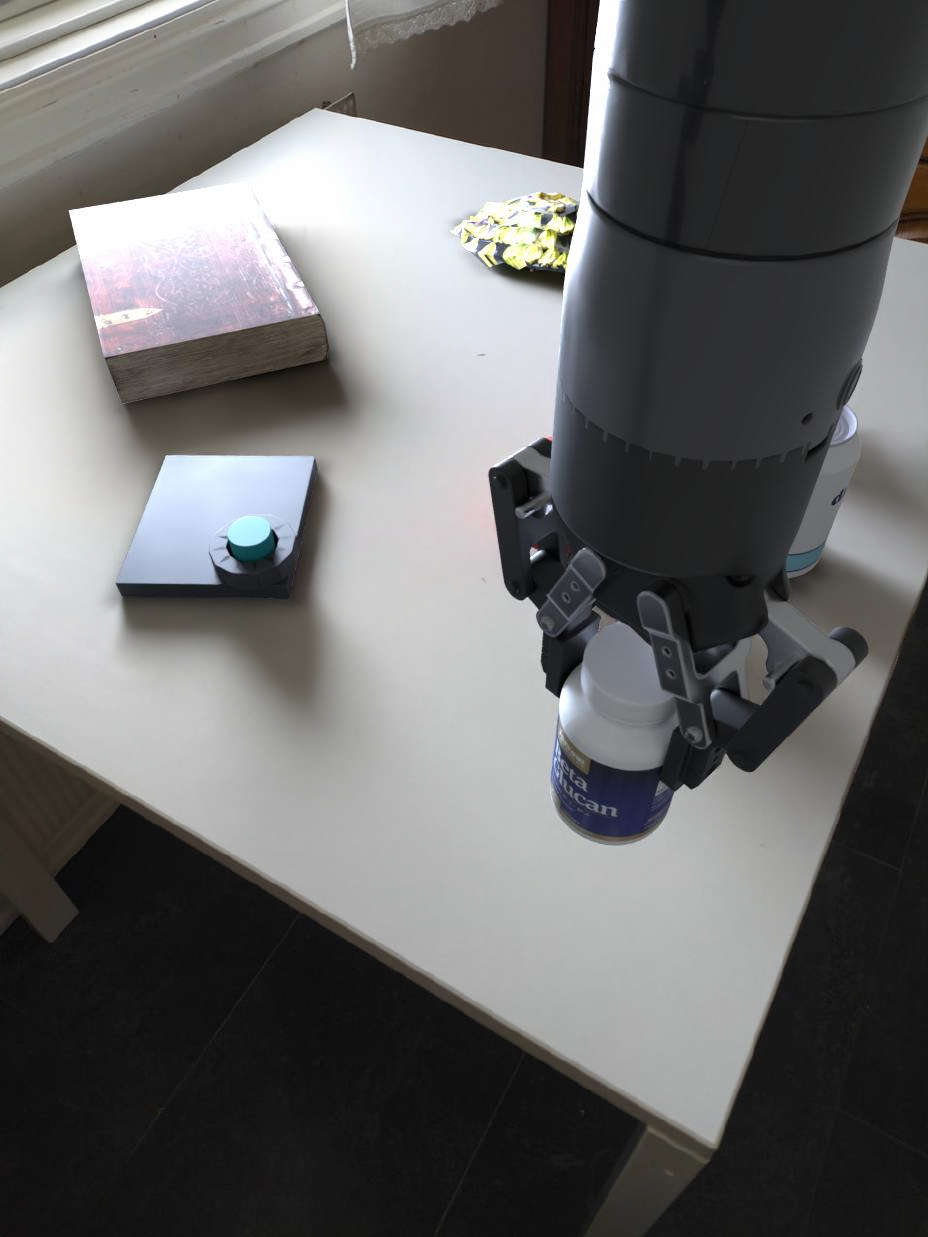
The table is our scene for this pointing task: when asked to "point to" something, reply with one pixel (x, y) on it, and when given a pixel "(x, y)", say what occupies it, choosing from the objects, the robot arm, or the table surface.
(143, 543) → the scale
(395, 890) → the table surface
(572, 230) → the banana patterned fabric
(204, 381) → the hardback book
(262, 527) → the button
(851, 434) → the beverage can
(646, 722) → the pill bottle
